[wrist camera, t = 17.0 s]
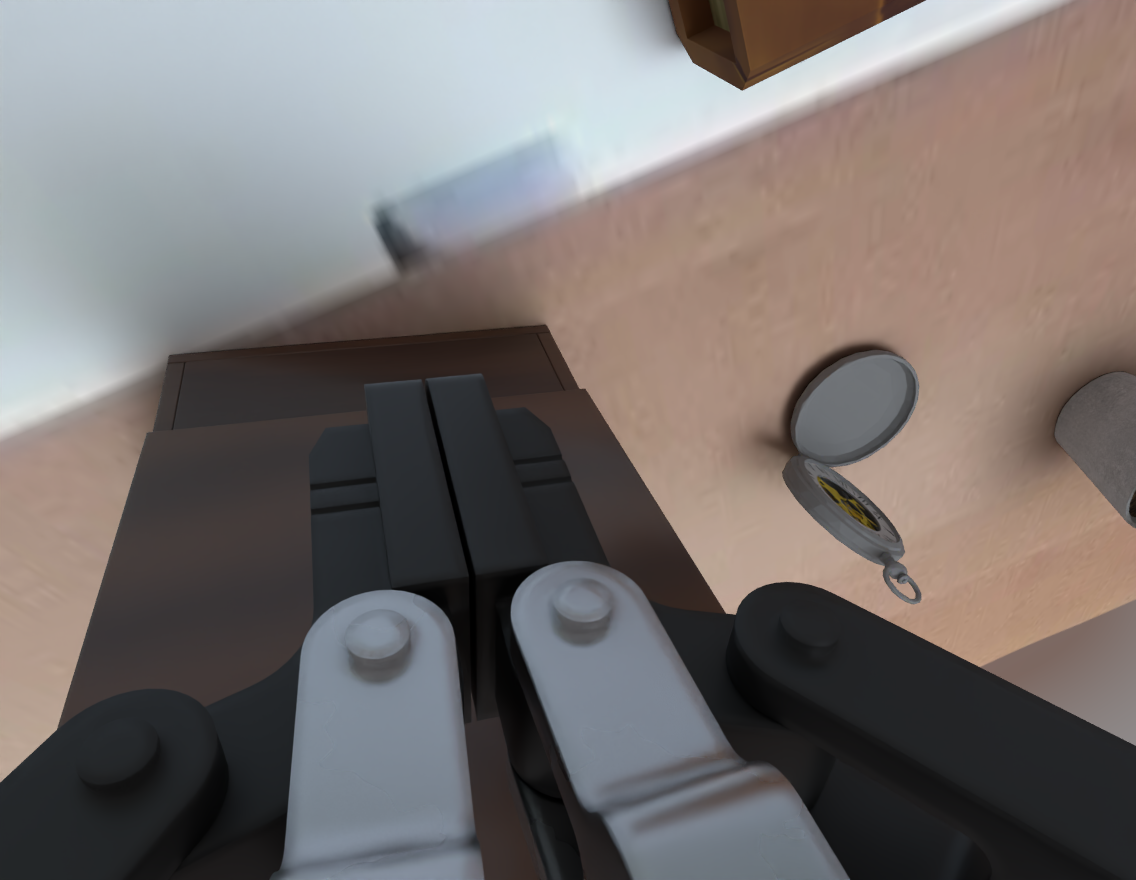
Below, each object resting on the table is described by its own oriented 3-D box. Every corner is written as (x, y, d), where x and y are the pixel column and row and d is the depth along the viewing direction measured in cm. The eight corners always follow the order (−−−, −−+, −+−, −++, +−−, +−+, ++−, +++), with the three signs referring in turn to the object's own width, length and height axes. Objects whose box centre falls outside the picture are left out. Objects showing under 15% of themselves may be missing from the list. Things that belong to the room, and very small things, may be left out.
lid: (877, 896, 14) (888, 870, 14) (-47, 1166, 11) (-70, 1142, 10) (584, 407, 29) (585, 387, 29) (152, 453, 25) (146, 431, 25)
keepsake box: (532, 610, 43) (556, 687, 39) (250, 658, 40) (246, 748, 36) (547, 325, 33) (581, 391, 29) (168, 354, 29) (151, 434, 26)
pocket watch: (924, 337, 39) (1079, 463, 31) (877, 472, 44) (1002, 609, 36) (770, 355, 37) (896, 494, 29) (740, 494, 42) (841, 644, 34)
